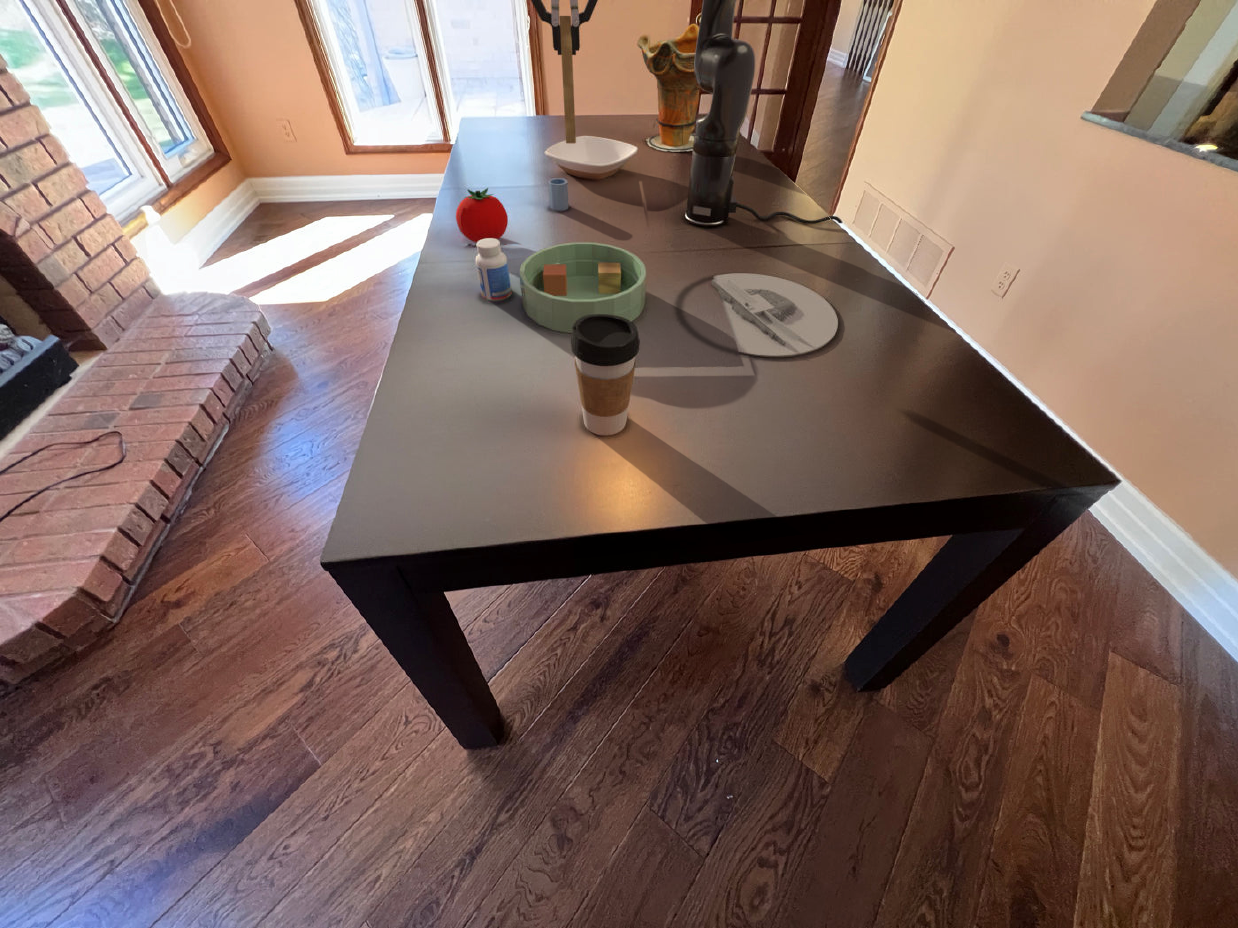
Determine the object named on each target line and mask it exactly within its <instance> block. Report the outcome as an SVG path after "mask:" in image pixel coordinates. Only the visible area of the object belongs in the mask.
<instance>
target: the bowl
mask: <svg viewBox="0 0 1238 928" xmlns="http://www.w3.org/2000/svg"><path fill="white" fill-rule="evenodd" d="M638 150H639V148H638V146H635V145H633V144H631V143H627V142H624V141H620V140H616V139H611V138H605V137H600V136H599V137H598V136H592V135H581V136H576V143H566V139H565V140H562V141H559V142H557V143H555V144H553V145H551V146H549V147H548V148H547V149H545V151H544V154H545V156H547V157H548V158H549V159H550V160H551V161H552V162H553V163H555V164H556V165H557V166H558V167H559V168H560V169H561V170H562V171H564V173H566V174H569V175H571V176H574V177H577V178H581V179H582V178H583V179H588V180H596V181H597V180H602V179H607V178H609V177H611V176H613V175H615V174H616V173H617V172H619V170H620V169H621V168H622V167H623V166H624V165H626V163H628V162H629V161H630V160H631V159H632V158H633V157H634V156H635V155H636V154H637V152H638Z"/></svg>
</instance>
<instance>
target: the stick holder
mask: <svg viewBox="0 0 1238 928" xmlns="http://www.w3.org/2000/svg"><path fill="white" fill-rule="evenodd" d="M547 186H548V203H549V208H550V209H551V210H553V211H557V212H558V211H559V212H560V211H566V210H568V209H569V208H570V207H569V206H570V204H569V184H568V180H567V179H565V178H562V177H555V178H553V177H552V178H550V179H548V180H547Z"/></svg>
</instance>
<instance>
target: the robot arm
mask: <svg viewBox="0 0 1238 928" xmlns="http://www.w3.org/2000/svg"><path fill="white" fill-rule="evenodd" d="M578 1H579V0H569V5H570V6H569V7H570V16H571V40H572V56H576V55H577V52H579V51H580V48H581V42H580V41H581V40H580V37H581V36H580V28H581V27H580V26H581V25H582V24H584V23H589V22H590V21H591V17H592V15H593V13H594V11H595V8H596V6H597V3H598V1H599V0H587V2H586V4H585V7H584V10H583V11H581V12H580V11H579V2H578ZM530 2H531V3H532V5H533V7H534V9H535V11H536V13H537V15H538V16H539V19H540V20H541V21H542V22H544V23H547V24H549V25H550V27H551V31H552V32H551V33H552V34H551V35H552V47H553V50H554V51H557V56H562V55H561V30H560V0H550V2H551V3H550V4H551V5H550V8H551V11H547V9H546V6H545V4H544V3H543V0H530ZM737 3H738V0H702V6H701V13H700V20H699V25H698V26H699V32H698V38H697V45H696V51H695V60H694V74H695V79H696V82H697V84H698V86H699V87H700V89H701V90H702V91H703V92H706V93H709V94H711V95H712V97H711V103H710V108H709V111H708V113H704V114H702V115H700V116H698V117H697V118H696V123H695V124H694V144H693V151H692V152H691V153H692V155H691V163H690V172H689V182H688V192H687V199H686V207H685V215H684V218H685V220H686V221H687V222H688V223H689V224H691V225H694V226H698V227H704V228H705V227H707V228H713V227H718V226H721V225H728V221H729V214H735V213H736V211H737V208H739V209H742V210H745V211H747V212H749V213H750V214H752V215H753V216H754V217H755V218H756V219H757V220H759V221H768V220H770V219H771V218H773V217H776V216H785V217H788V218H790V219H792V220H795V221H796V222H799V223H802V224H806V225H814V224H815V225H816V224H820V223H823V222H827V221H829V220H830V218H831V220H834V221H835V222H837V223H838V224H843V220H842V219H841V218H840V217H838V216H836V215H829V217H830V218H829V217H828V216H825V217H822V218H818V219H813V220H811V219H810V220H809V219H803V218H801V217H799V216H797V215H794V214H792V213H789V212H787V211H774V212H772V213H770V214H768V215H766V216H761V215H760V214H759V213H758V212H757V211H756V210H755V209H754V208H752V207H749V206H748V205H745V204H741V203H738V201H737V199H736V197H735V195H733V190H734V185H735V178H734V176H733V175H734V167H735V162H736V157H737V150H738V143H739V137H740V133H741V132H740V131H741V128H742V126H743V124H744V122H745V120H746V117H747V114H748V109H749V103H750V99H751V95H752V91H753V85H754V79H755V75H756V74H755V73H756V55H755V54H756V53H755V51H754V48H753V47H752V46H751V44H750V43H748V42H746V41H745V40H742V39H738V38H734V37H733V31H734V20H735V12H736V8H737V7H736V6H737Z"/></svg>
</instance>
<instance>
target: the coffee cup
mask: <svg viewBox="0 0 1238 928" xmlns="http://www.w3.org/2000/svg"><path fill="white" fill-rule="evenodd" d="M640 340H641V339H640V338H639V331H638V327H637V326H636V325H635V323H634V322H633V321H632V322H631V321H629V320H627V319H625V318H623V317H619V316H615V315H607V314H593V315H586V316H583V317H581V318H579V319H578V320H577V321H576V322H575V323H574V325H573V327H572V333H571V338H570V345H571V346H570V349H571V352H572V353H573V356H574V357H575V358H574V367H575V374H576V379H577V385H578V386H577V387H578V392H579V400H580V404H581V410H582V418H583V424H584V426H585V428H586V429H587V430H588V431H589V432H590V433H592V434H595V435H597V436H612V435H615V434H618V433H619V432H622V430H623V429H624V428H625V426H626V424H627V419H628V412H629V405H630V401H631V395H632V388H633V382H634V376H635V370H636V365H637V363H636V361H637V360H636V356H637V355H638V354H639V351H640V344H641V341H640Z"/></svg>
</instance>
